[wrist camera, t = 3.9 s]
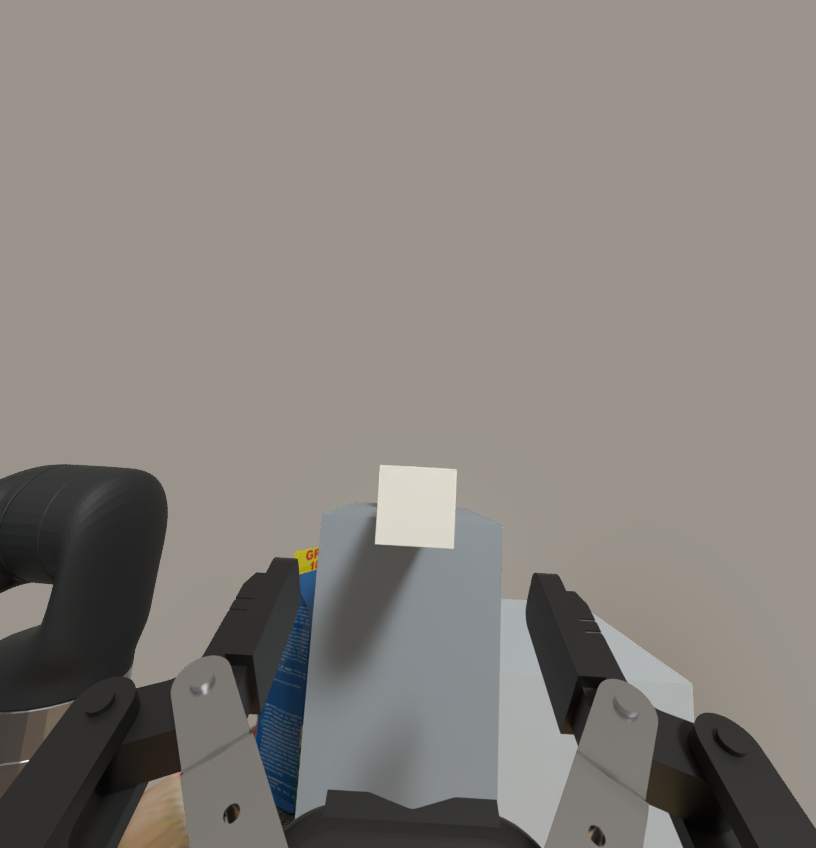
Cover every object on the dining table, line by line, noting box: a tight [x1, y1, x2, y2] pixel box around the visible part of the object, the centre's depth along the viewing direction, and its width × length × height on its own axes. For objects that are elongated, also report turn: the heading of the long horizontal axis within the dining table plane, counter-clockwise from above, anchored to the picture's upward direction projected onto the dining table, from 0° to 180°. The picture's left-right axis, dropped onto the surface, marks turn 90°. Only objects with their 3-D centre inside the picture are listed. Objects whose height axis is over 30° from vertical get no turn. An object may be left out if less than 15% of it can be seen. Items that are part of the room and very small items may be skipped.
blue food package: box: [255, 547, 319, 814], centre depth 46 cm, size 6×12×25 cm, turn 156°
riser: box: [295, 502, 694, 848], centre depth 31 cm, size 16×24×31 cm, turn 90°
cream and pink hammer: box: [375, 465, 457, 549], centre depth 27 cm, size 24×6×3 cm, turn 0°
